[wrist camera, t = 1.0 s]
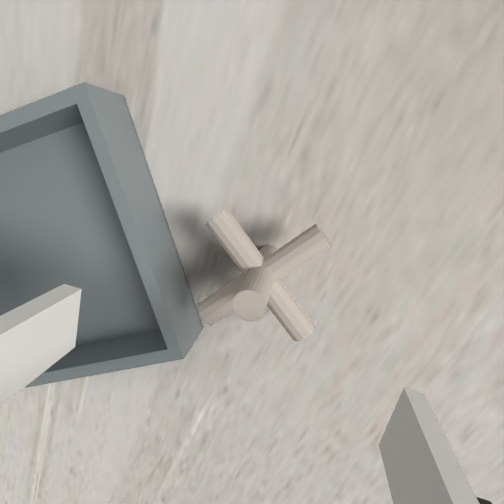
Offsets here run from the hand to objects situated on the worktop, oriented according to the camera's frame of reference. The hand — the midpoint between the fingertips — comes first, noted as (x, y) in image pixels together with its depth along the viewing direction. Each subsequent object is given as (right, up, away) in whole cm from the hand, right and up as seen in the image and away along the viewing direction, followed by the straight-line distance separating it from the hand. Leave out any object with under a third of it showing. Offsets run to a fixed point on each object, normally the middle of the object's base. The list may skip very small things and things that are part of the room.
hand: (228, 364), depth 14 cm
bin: (-14, +5, +17) cm, 23 cm away
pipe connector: (+2, +4, +15) cm, 16 cm away
